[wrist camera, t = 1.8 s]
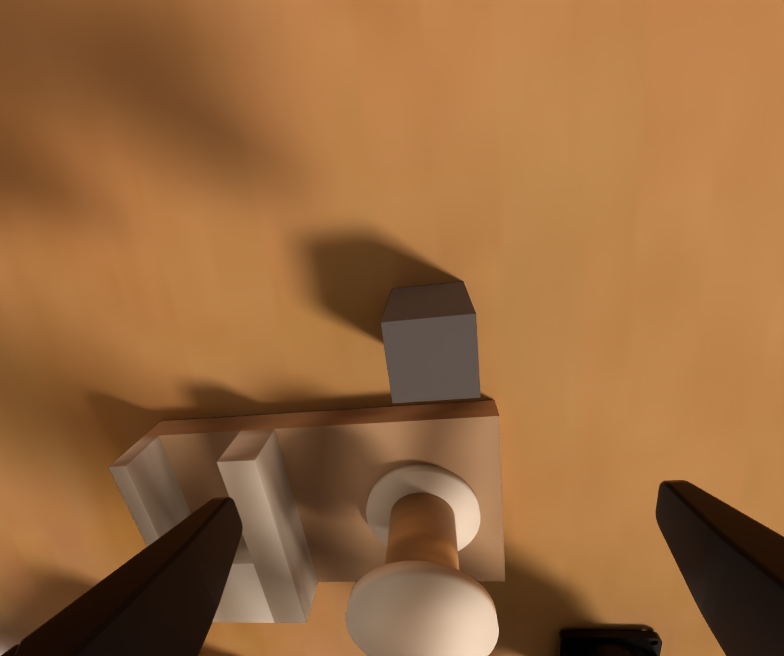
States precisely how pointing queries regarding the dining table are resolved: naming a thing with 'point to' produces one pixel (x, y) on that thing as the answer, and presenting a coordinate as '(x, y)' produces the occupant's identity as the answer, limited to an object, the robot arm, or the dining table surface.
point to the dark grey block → (431, 343)
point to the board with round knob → (343, 515)
